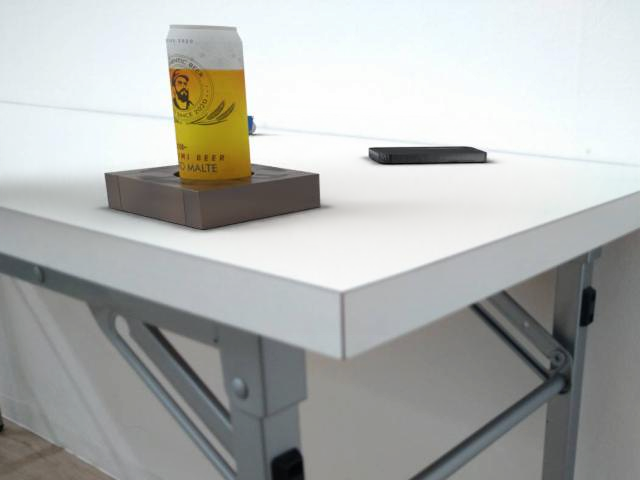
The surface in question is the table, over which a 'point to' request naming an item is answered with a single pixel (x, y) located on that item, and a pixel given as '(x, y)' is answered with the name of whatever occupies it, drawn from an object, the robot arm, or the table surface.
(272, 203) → the can holder
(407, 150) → the phone
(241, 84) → the beer can
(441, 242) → the table surface
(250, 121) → the ultrasonic sensor
